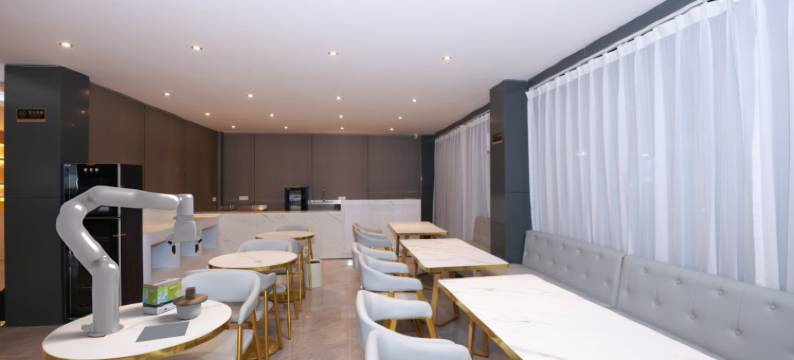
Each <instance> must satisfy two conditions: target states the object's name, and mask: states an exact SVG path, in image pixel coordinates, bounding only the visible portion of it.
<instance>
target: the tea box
mask: <svg viewBox="0 0 794 360" xmlns="http://www.w3.org/2000/svg"><path fill="white" fill-rule="evenodd" d="M182 289H183V281H182V278H177V277H164V278H161V279H158V280H154V281H150V282H146V283H144V284H142V314H147V315H153V316H154V315H155V316H156V315H157V316H158V315H159V314H161V313H165V312H167V311H170V310H174V309H177V307H176V305H173V300H174V299H175V298H178V297H181V296H183V294H182V293H183V291H182Z"/></svg>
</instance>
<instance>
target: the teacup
mask: <svg viewBox="0 0 794 360" xmlns="http://www.w3.org/2000/svg"><path fill="white" fill-rule="evenodd" d="M176 307H177V308H176V316H177V317H178V318H179V319H180V320H185V321H187V320H188V321H189V320H193V319H195V318H199V315H201V313H202V303H200V304H196V305H190V306H176Z"/></svg>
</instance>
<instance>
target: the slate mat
mask: <svg viewBox="0 0 794 360" xmlns="http://www.w3.org/2000/svg"><path fill="white" fill-rule="evenodd" d="M190 323H191V322H190V321H189V320H188V321H187V320H186V321H179V322H172V323H165V324H159V325H158V324H157V325H148V326H144V328H143V329H142V331H141V333H140V334H139V336H138V337H137V339H136V340H135V343H140V342H142V343H143V342H148V341H154V340H162V339H168V338H169V339H170V338H176V337H177V338H178V337H185V336H186V333H187V332H188V331H187V330H188V327H189V324H190Z"/></svg>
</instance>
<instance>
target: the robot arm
mask: <svg viewBox="0 0 794 360" xmlns="http://www.w3.org/2000/svg"><path fill="white" fill-rule="evenodd" d="M100 206H105V207H106V206H109V207H121V208H131V209H150V210H151V209H152V210H162V211H174V210H175V216H173V217H172V220H175V221H174V224H173V231H172V232H173V233H172V234H169V235H168V236H165V237H164V240H165V241H166V242H167V244H169V245H170V247H171V253H172V255H175V254H176V252H177V251H176V250H177V247H176V244H177V243H189V242H190V243H191V242H192V243H195V244H194V253H198V251H199V250H200V249H199V248H200V247H199V246H200V244H201V243H202V241H203V240H204V238H205V234H203V233H201V232H198V230H197V225H196V224H197V223H196V221H195V220H194V196H193V194H192V193H179V194H171V193H170V194H169V193H159V192H151V191H145V190H140V189H134V188H127V187H126V188H125V187H116V186H109V185H108V186H107V185H96V186H95V185H94V186H93V187H91V188H89V189H88V190H86V191H85V192H82V193H80V194H79V195H77V196H75V197H74V198H71V199H70V200H68V201H65V202H64V203H63V204H62V205H61V206H60V209H59V214H58V215H57V217H56V223H55V228H56V232H57V234H58V235H59V237H60V238H61V240H62V242H64V243H65V245H66V246H67V247H68V248H69V250H70V251H72V253H73V256H74V257H75V258H76V259H77V260H78V262H80V264H81V265H82V266H83V267H84V268H85V269H86V270H87V271H88V272H89V274H90V275H91V276H92V277H91V279H92V286H91V295H92V296H91V297H92V300H91V301H92V322H91V323H88V324H86V323H85V324H81V326H80V330H82V331H88V333H87V335H88V336H89V337H93V338H99V337H106V336H107V335H108V336H109V335H112V334H115V333H118V332H120V331H123V330H124V326H125V325H124V324H122V323H120V277H121V276H120V273H121V271H120V267H119V265H118V264H117V262H116V261H114V260H113V259H112V258H111V257H110V256H109V254H108V253H107V252H106V251H105V249H104V248H103V247H102V245H101V244H100V243H99V242H98V241H97V240H95V238H93V236H92V235H91V234H90V232H89V231H88V230H87V229H86V227H85V226H84V225H83V223H84V222H83V220H84V218H85V217H86V215H87V214H88V213H90V212H92V211H93V210H95V209H97V208H98V207H100ZM198 237H199V238H200V239H197V238H198ZM171 238H173V239H172V240H173V241H172V240H171Z"/></svg>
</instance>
